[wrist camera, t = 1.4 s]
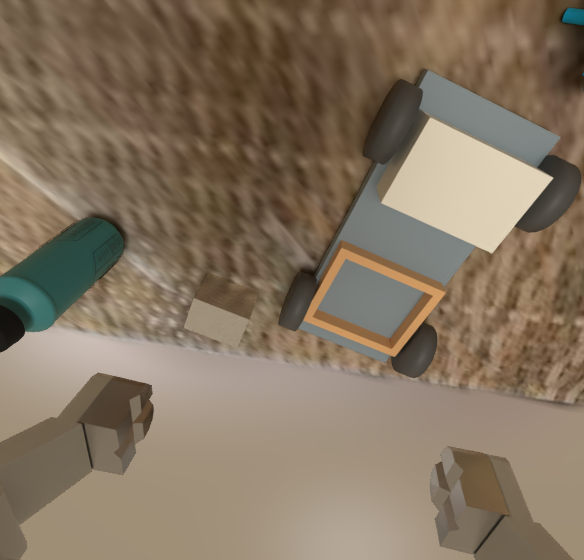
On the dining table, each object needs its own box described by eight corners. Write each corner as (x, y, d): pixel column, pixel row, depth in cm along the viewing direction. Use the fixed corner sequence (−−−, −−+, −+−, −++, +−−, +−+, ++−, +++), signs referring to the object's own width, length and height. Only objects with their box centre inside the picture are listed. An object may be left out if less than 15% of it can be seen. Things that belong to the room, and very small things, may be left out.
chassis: (278, 310, 51) (270, 345, 45) (404, 59, 35) (418, 61, 29) (395, 357, 54) (402, 396, 48) (567, 141, 37) (611, 159, 31)
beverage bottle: (87, 201, 46) (-61, 290, 29) (138, 227, 47) (25, 329, 30) (76, 242, 49) (-62, 344, 32) (125, 266, 50) (16, 377, 33)
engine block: (199, 300, 52) (183, 327, 47) (208, 272, 50) (193, 297, 44) (246, 319, 53) (236, 347, 48) (258, 292, 50) (249, 319, 45)
